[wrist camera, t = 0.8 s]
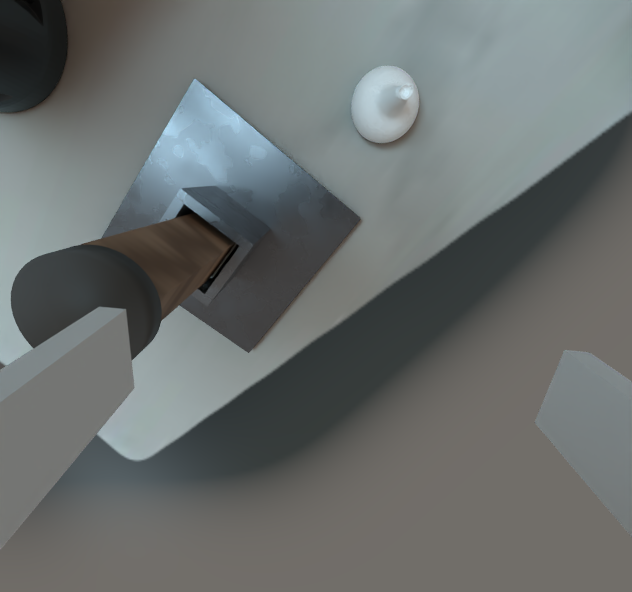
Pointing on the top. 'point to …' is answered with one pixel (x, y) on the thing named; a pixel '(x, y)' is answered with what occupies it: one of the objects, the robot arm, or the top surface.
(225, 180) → the sleeve stand
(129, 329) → the post
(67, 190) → the top surface
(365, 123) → the garlic bulb
